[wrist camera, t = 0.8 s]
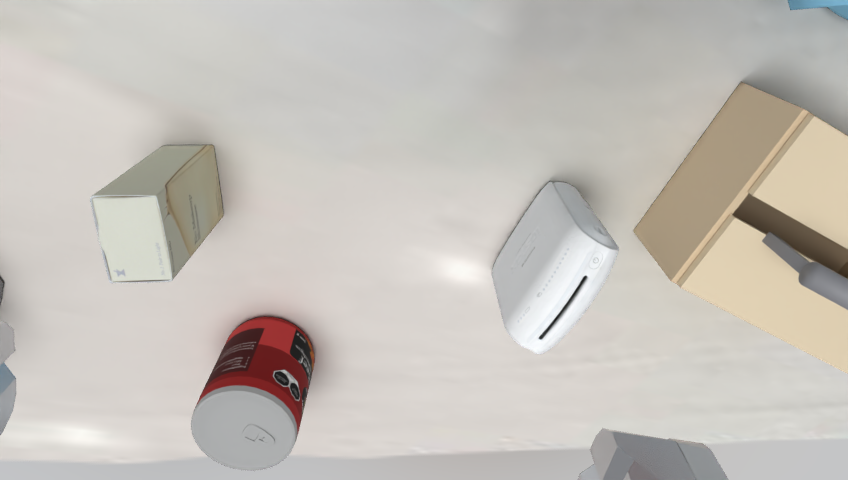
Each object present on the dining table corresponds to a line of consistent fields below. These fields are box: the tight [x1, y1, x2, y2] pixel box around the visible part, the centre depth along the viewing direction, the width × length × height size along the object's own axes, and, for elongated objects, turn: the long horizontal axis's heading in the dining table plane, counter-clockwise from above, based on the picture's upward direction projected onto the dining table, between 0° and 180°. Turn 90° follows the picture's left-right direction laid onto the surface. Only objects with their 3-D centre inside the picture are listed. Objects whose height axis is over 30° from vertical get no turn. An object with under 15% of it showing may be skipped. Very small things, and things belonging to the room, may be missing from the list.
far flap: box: [677, 214, 848, 374], centre depth 44 cm, size 7×17×7 cm, turn 62°
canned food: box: [191, 317, 314, 471], centre depth 55 cm, size 8×8×11 cm
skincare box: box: [90, 145, 223, 283], centre depth 48 cm, size 6×4×12 cm
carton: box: [634, 82, 848, 285], centre depth 50 cm, size 14×18×10 cm
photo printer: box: [492, 182, 619, 354], centre depth 50 cm, size 10×4×12 cm, turn 151°
